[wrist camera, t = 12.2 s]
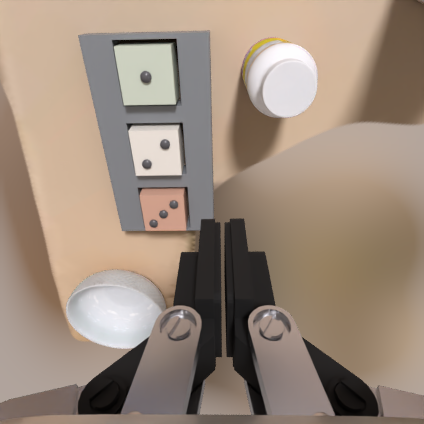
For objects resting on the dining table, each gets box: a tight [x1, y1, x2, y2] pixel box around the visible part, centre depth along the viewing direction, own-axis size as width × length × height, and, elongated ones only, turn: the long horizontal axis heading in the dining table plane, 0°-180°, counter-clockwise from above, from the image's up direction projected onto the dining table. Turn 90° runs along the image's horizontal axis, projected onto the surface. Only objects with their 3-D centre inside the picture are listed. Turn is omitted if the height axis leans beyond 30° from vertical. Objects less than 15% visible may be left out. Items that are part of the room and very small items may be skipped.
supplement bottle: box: [242, 37, 318, 118], centre depth 32 cm, size 7×7×13 cm
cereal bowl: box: [66, 269, 166, 348], centre depth 56 cm, size 17×17×7 cm
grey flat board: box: [78, 31, 214, 231], centre depth 41 cm, size 14×26×3 cm, turn 1°
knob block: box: [114, 42, 179, 105], centre depth 35 cm, size 6×6×4 cm
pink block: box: [139, 187, 188, 231], centre depth 45 cm, size 6×6×4 cm
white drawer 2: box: [128, 122, 184, 176], centre depth 40 cm, size 6×6×4 cm
